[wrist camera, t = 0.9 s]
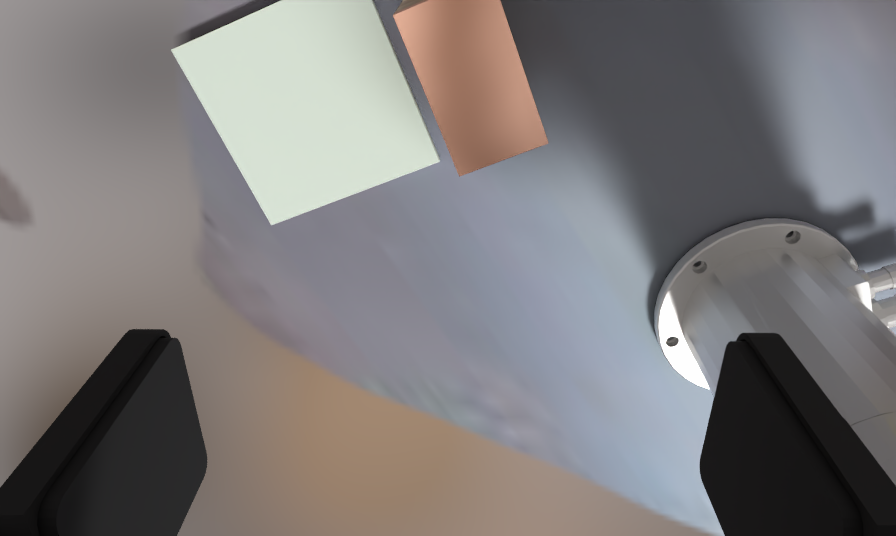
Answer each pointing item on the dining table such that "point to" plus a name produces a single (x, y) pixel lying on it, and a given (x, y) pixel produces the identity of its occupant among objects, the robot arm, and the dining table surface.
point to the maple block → (471, 79)
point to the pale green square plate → (309, 102)
